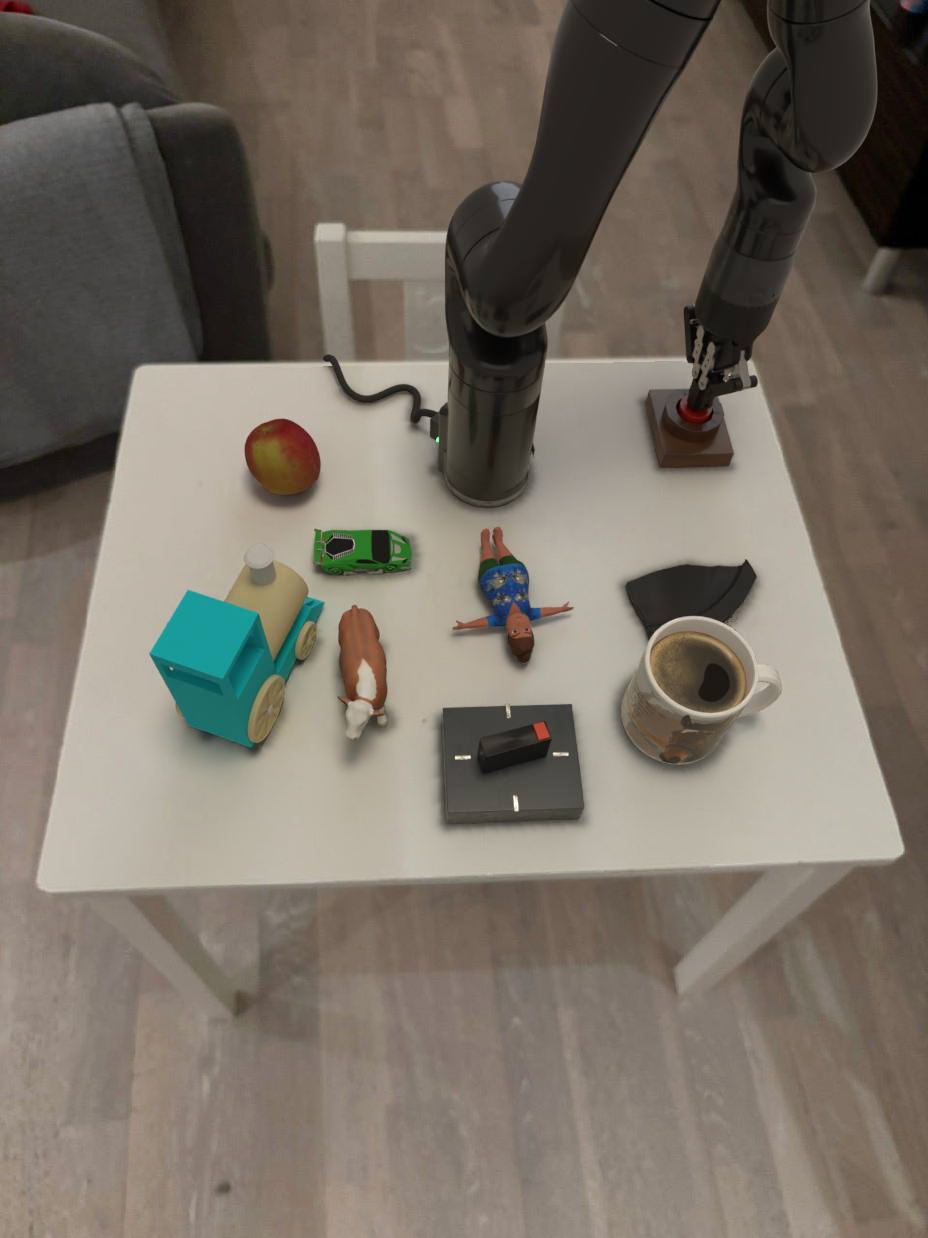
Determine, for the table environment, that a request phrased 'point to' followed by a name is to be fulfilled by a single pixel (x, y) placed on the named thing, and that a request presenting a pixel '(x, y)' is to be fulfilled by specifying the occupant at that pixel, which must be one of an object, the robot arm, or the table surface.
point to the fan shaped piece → (690, 592)
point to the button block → (687, 433)
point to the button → (693, 413)
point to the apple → (282, 457)
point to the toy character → (508, 596)
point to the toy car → (361, 551)
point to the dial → (514, 747)
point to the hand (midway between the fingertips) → (697, 405)
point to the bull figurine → (362, 670)
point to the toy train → (238, 649)
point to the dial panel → (515, 789)
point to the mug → (693, 689)
